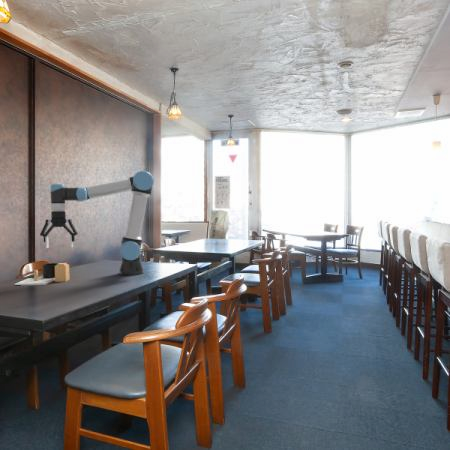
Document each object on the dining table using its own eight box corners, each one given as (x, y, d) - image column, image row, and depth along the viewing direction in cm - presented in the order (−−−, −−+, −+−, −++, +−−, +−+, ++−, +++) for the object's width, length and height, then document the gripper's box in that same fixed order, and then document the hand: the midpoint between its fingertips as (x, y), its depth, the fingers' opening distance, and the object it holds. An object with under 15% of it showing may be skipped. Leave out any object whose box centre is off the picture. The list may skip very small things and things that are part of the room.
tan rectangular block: (69, 279, 218) (69, 262, 218) (65, 281, 212) (65, 264, 212) (59, 279, 218) (58, 262, 217) (55, 281, 212) (54, 264, 211)
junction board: (58, 278, 222) (58, 266, 222) (45, 284, 202) (44, 272, 202) (30, 278, 221) (30, 267, 220) (14, 285, 201) (14, 272, 201)
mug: (56, 281, 215) (56, 265, 215) (39, 280, 218) (38, 265, 217) (67, 278, 224) (66, 263, 224) (50, 277, 227) (49, 262, 226)
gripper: (82, 210, 219) (83, 246, 220) (38, 211, 216) (39, 247, 217) (78, 210, 212) (80, 247, 212) (33, 211, 209) (34, 248, 210)
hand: (59, 247), depth 215 cm, fingers open, 13 cm apart
